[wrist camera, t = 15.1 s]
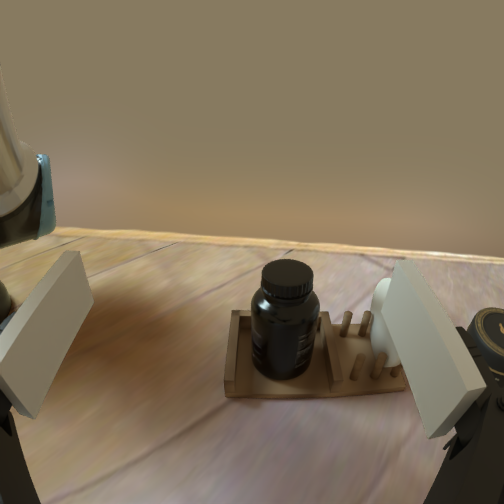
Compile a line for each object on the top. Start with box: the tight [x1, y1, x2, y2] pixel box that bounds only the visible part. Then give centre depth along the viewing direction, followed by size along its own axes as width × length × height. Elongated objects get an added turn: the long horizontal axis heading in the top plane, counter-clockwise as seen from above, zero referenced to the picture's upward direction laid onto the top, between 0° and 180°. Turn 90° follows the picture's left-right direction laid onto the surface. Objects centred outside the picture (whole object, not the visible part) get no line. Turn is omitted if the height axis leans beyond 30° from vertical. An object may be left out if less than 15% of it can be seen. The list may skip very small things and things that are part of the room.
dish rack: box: [224, 278, 406, 398], centre depth 34 cm, size 20×11×11 cm, turn 88°
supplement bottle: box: [251, 259, 320, 380], centre depth 33 cm, size 7×7×12 cm
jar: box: [467, 308, 504, 388], centre depth 30 cm, size 10×10×8 cm
